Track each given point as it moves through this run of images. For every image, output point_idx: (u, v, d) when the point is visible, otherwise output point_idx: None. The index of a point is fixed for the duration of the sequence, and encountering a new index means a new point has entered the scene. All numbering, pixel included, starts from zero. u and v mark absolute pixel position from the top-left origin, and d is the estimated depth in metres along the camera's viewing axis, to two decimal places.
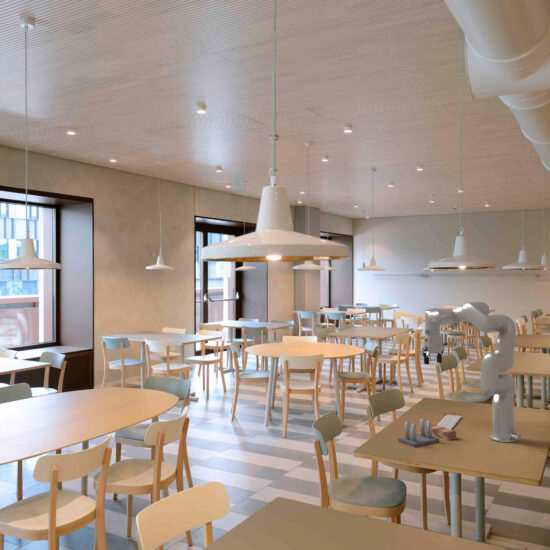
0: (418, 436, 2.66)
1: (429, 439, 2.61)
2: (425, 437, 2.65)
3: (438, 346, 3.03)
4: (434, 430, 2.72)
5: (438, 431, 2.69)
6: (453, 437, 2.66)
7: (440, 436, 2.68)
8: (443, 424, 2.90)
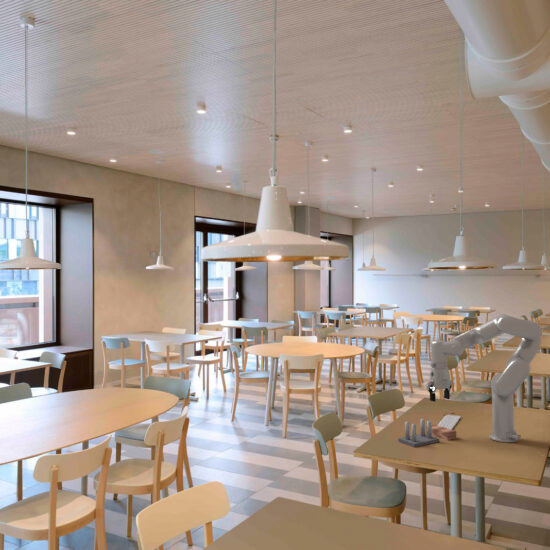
0: (418, 436, 2.66)
1: (429, 439, 2.61)
2: (425, 437, 2.65)
3: (446, 381, 2.71)
4: (434, 430, 2.72)
5: (438, 431, 2.69)
6: (453, 437, 2.66)
7: (440, 436, 2.68)
8: (443, 424, 2.90)
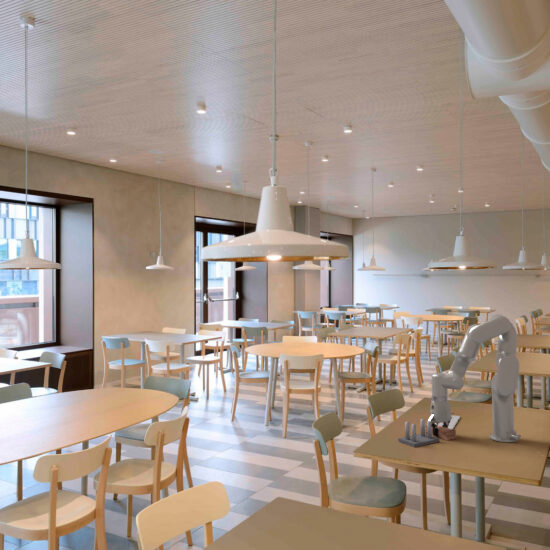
0: (418, 436, 2.66)
1: (429, 439, 2.61)
2: (425, 437, 2.65)
3: (446, 414, 2.70)
4: None
5: None
6: (452, 436, 2.66)
7: (439, 435, 2.68)
8: None
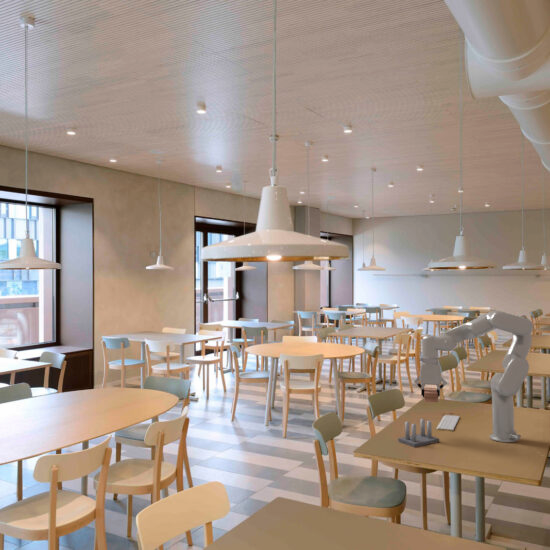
0: (418, 436, 2.66)
1: (429, 439, 2.61)
2: (425, 437, 2.65)
3: (434, 377, 2.66)
4: (424, 391, 2.71)
5: (424, 392, 2.68)
6: (433, 399, 2.62)
7: (424, 397, 2.67)
8: (444, 424, 2.89)
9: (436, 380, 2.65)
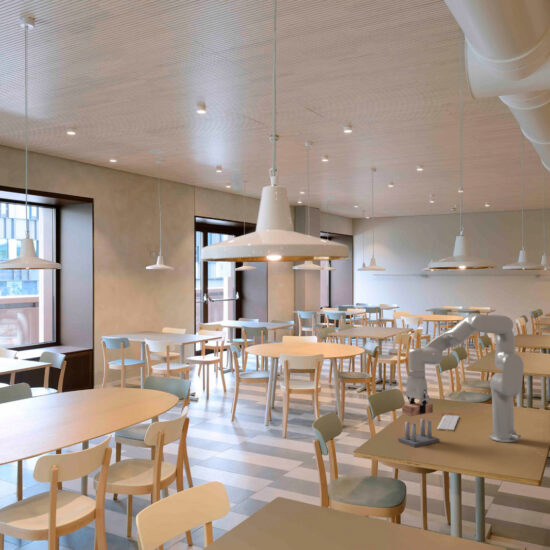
0: (418, 436, 2.66)
1: (429, 439, 2.61)
2: (425, 437, 2.65)
3: (415, 391, 2.61)
4: None
5: None
6: (408, 413, 2.59)
7: None
8: (444, 424, 2.89)
9: (417, 394, 2.60)
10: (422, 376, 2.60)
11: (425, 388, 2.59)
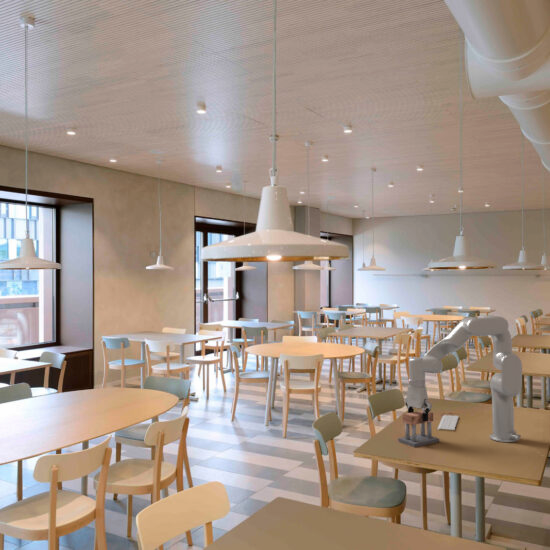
0: (418, 436, 2.66)
1: (429, 439, 2.61)
2: (425, 437, 2.65)
3: (415, 400, 2.61)
4: None
5: None
6: (408, 422, 2.59)
7: None
8: (445, 424, 2.89)
9: (417, 404, 2.60)
10: (422, 385, 2.60)
11: (425, 397, 2.59)
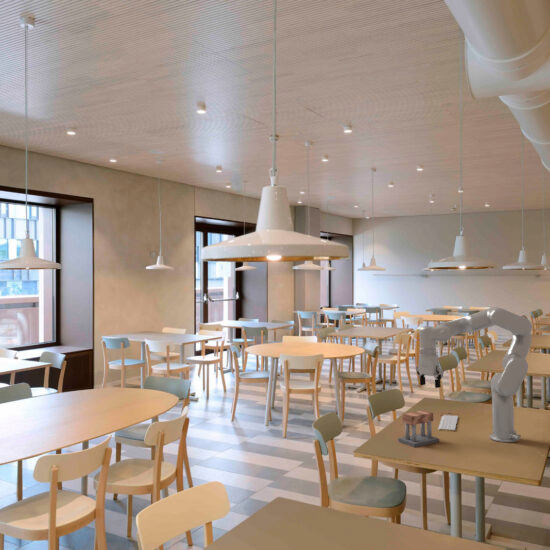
0: (418, 436, 2.66)
1: (429, 439, 2.61)
2: (425, 437, 2.65)
3: (427, 368, 2.67)
4: None
5: None
6: (408, 422, 2.59)
7: None
8: (445, 424, 2.89)
9: (429, 371, 2.66)
10: (433, 353, 2.67)
11: (437, 364, 2.66)
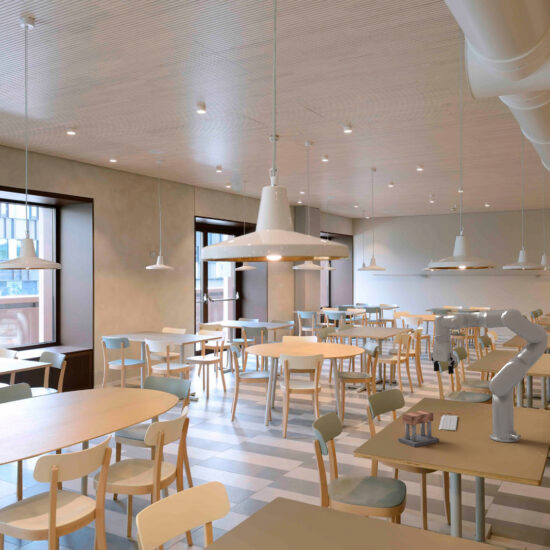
0: (418, 436, 2.66)
1: (429, 439, 2.61)
2: (425, 437, 2.65)
3: (441, 354, 2.77)
4: None
5: None
6: (408, 422, 2.59)
7: None
8: (445, 425, 2.89)
9: (443, 357, 2.75)
10: (448, 340, 2.76)
11: (451, 351, 2.75)
